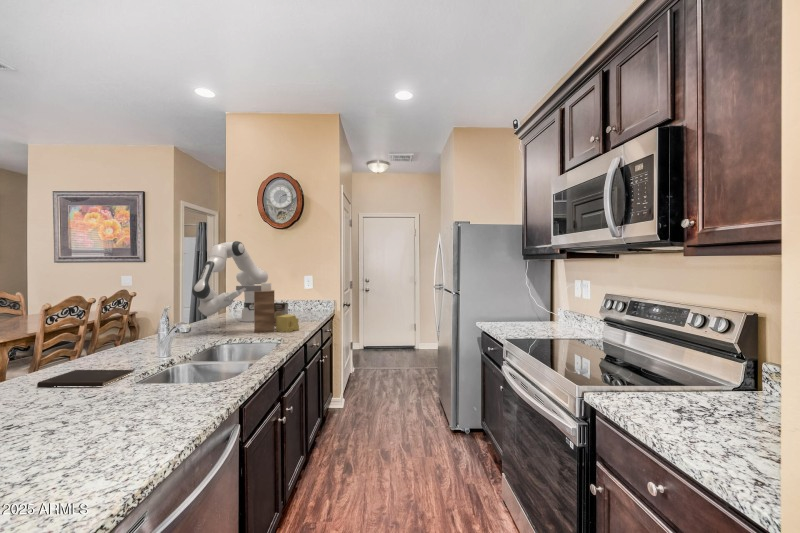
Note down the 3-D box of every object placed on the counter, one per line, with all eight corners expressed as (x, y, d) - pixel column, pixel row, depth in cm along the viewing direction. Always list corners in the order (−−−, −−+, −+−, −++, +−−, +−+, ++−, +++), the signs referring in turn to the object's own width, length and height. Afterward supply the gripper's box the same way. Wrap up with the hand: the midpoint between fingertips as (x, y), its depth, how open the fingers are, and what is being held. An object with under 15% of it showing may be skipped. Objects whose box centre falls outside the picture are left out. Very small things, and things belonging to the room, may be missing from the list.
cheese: (299, 330, 249) (299, 314, 249) (287, 332, 240) (287, 316, 240) (286, 328, 254) (286, 314, 254) (275, 331, 244) (275, 316, 244)
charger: (236, 291, 243) (236, 283, 243) (271, 290, 250) (271, 282, 250) (235, 291, 238) (235, 283, 238) (271, 291, 244) (271, 283, 244)
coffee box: (272, 326, 263) (272, 303, 263) (276, 324, 270) (275, 302, 270) (284, 326, 263) (284, 303, 262) (288, 325, 269) (288, 302, 269)
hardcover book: (75, 375, 149) (75, 369, 149) (134, 375, 149) (134, 369, 149) (36, 389, 133) (36, 382, 133) (102, 389, 133) (102, 382, 133)
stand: (254, 329, 250) (254, 290, 249) (274, 328, 254) (274, 290, 253) (253, 332, 238) (253, 291, 238) (274, 331, 242) (274, 291, 242)
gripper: (220, 296, 228) (242, 284, 232) (224, 294, 248) (244, 283, 251) (226, 305, 229) (247, 293, 233) (230, 302, 249) (249, 291, 252)
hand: (246, 288), depth 242 cm, fingers closed on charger, 3 cm apart
